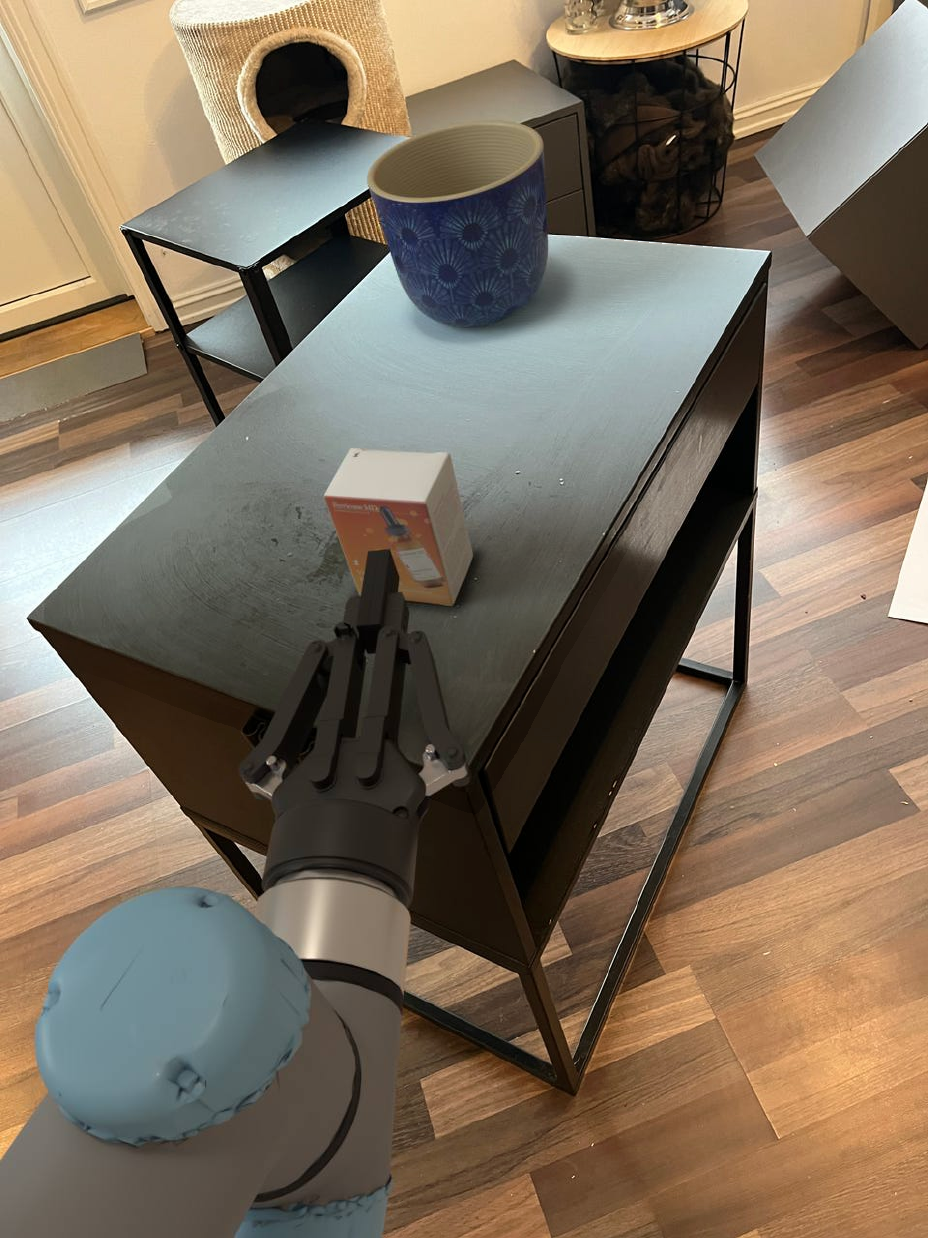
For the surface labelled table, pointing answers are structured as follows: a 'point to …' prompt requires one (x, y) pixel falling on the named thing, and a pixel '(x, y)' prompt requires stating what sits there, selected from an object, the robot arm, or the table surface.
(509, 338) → the table surface
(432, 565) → the small box
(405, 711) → the table surface
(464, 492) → the table surface
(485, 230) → the planter
